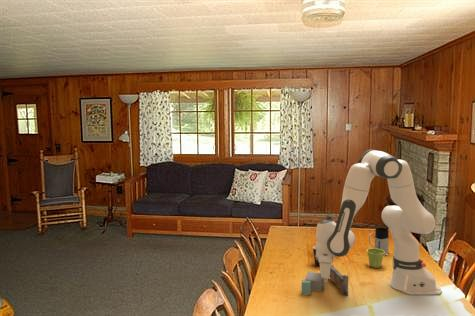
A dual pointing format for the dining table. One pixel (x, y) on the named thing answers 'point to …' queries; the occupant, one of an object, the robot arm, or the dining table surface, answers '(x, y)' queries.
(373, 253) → the plant pot
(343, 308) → the dining table surface
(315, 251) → the coffee mug
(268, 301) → the dining table surface
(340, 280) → the gate
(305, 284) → the grey-green rectangular block
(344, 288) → the hinge post
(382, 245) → the lidded pitcher
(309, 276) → the rubber block
